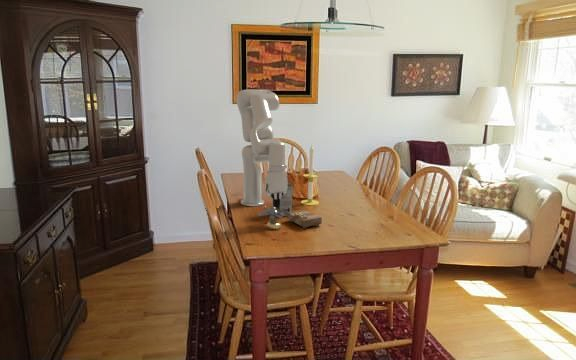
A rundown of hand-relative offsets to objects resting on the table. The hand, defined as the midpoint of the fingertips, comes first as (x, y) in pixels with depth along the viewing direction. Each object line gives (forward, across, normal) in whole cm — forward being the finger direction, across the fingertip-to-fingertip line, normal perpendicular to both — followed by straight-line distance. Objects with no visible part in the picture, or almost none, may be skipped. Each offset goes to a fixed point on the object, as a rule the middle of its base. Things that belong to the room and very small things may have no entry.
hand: (276, 206), depth 216 cm
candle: (+7, -33, -19) cm, 39 cm away
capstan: (+8, +5, +5) cm, 10 cm away
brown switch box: (+8, -11, +8) cm, 15 cm away
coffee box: (+8, -10, -10) cm, 16 cm away
